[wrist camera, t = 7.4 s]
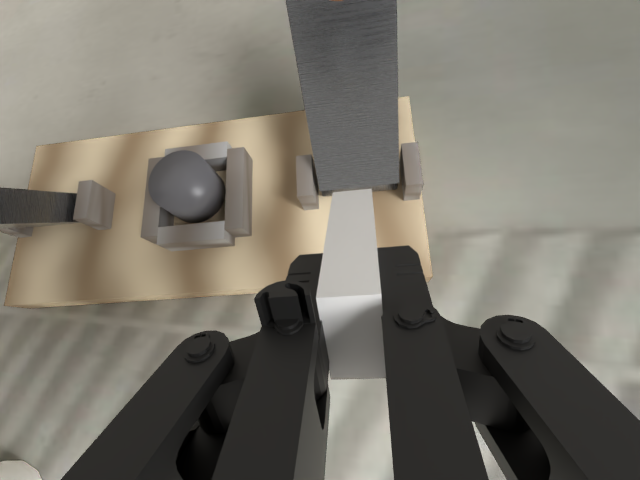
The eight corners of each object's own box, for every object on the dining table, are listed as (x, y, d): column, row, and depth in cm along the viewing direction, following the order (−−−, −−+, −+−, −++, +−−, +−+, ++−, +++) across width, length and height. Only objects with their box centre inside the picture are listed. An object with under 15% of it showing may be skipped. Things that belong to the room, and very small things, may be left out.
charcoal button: (226, 166, 25) (210, 146, 23) (224, 220, 24) (207, 206, 22) (172, 172, 26) (151, 154, 23) (168, 225, 25) (145, 212, 22)
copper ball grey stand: (395, 174, 25) (388, -90, 17) (400, 200, 23) (396, -95, 14) (323, 182, 26) (281, -69, 17) (321, 208, 23) (271, -69, 15)
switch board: (406, 113, 28) (411, 72, 24) (428, 282, 24) (438, 268, 20) (56, 157, 32) (8, 129, 28) (29, 308, 28) (-32, 301, 24)
